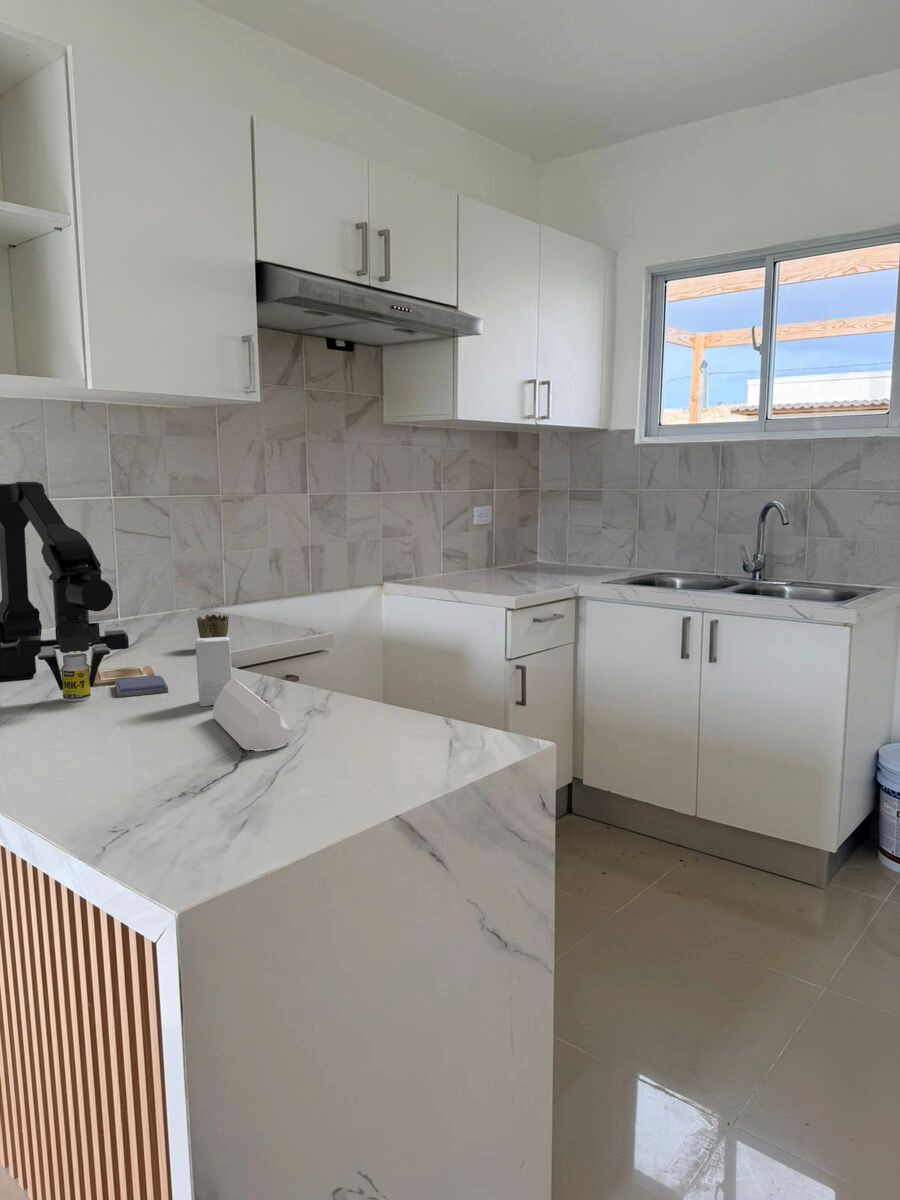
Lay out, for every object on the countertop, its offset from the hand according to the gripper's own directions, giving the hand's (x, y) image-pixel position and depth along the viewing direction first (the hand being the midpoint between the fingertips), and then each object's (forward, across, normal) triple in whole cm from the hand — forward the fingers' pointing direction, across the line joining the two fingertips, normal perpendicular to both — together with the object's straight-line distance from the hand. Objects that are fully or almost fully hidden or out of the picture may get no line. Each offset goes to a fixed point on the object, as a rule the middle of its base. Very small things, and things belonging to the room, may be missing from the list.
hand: (76, 688), depth 156 cm
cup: (+2, +31, +36) cm, 48 cm away
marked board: (+2, +9, +15) cm, 18 cm away
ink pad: (+2, +12, +2) cm, 12 cm away
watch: (+2, +3, +28) cm, 28 cm away
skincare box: (+2, +23, -14) cm, 27 cm away
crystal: (+2, +25, -34) cm, 42 cm away
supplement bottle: (+2, 0, 0) cm, 2 cm away
